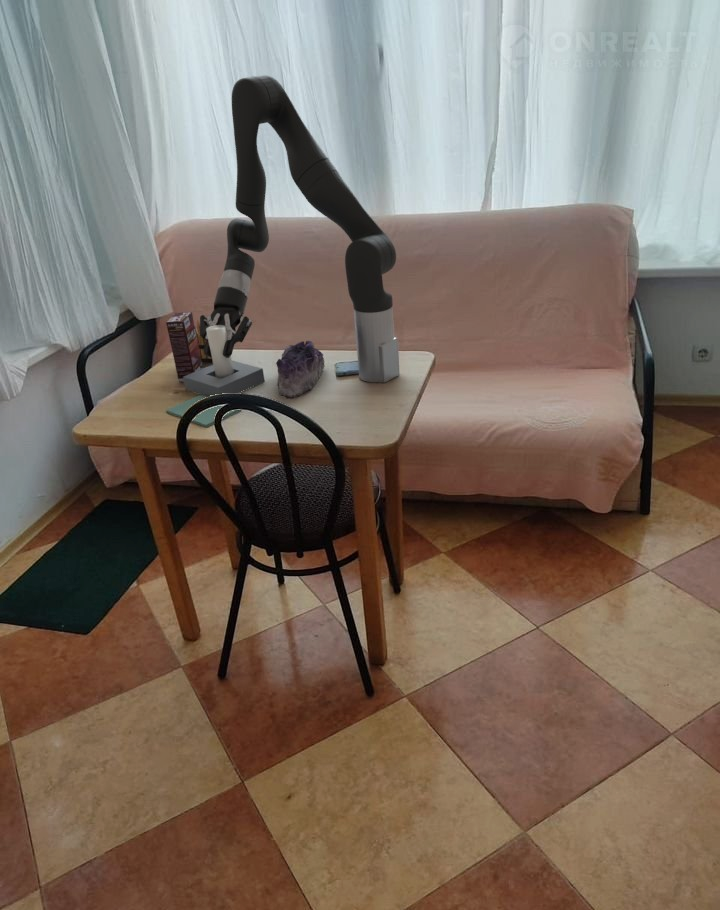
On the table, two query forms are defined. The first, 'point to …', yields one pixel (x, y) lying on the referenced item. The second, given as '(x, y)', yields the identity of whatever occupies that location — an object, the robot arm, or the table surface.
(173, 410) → the mat
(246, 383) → the grey square socket block
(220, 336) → the plug
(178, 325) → the supplement box
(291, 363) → the geode
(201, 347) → the ammunition clip
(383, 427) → the table surface
